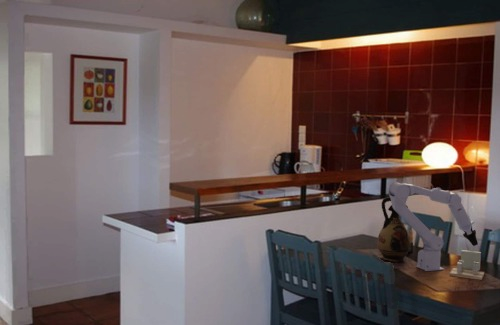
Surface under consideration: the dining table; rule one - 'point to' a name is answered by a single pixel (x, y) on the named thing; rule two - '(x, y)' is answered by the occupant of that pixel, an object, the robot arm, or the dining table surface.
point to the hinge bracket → (467, 271)
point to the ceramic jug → (393, 236)
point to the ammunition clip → (411, 240)
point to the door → (470, 259)
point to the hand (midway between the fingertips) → (474, 241)
